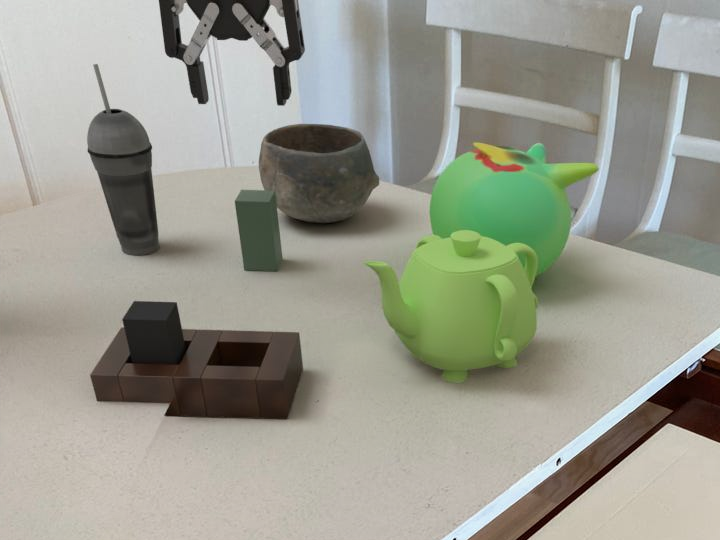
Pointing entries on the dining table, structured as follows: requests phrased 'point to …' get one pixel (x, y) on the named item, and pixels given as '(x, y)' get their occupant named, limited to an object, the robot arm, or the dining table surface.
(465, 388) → the dining table surface
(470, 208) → the toy bird
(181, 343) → the pin
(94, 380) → the wooden socket block
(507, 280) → the teapot
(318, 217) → the bowl
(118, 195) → the beverage cup
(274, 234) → the pin
